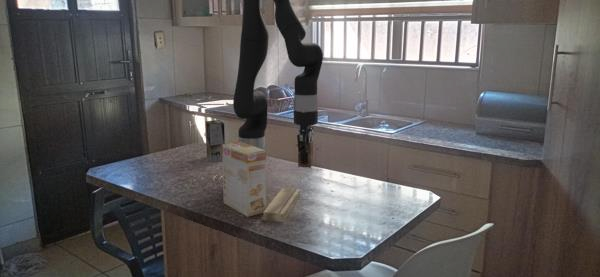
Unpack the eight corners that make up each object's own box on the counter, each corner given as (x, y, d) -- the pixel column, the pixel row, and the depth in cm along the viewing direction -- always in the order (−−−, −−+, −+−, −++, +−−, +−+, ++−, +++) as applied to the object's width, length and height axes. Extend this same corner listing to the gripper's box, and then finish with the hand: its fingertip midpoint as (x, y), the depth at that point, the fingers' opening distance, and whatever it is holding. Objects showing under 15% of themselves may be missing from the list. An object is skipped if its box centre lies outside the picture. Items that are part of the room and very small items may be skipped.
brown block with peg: (295, 166, 152) (295, 142, 150) (298, 163, 156) (298, 139, 154) (310, 167, 151) (310, 142, 149) (312, 164, 155) (313, 140, 153)
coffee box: (225, 161, 202) (224, 123, 199) (210, 162, 200) (209, 124, 196) (221, 155, 211) (219, 119, 207) (206, 157, 208) (205, 120, 205)
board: (263, 220, 140) (263, 211, 139) (282, 195, 161) (282, 187, 160) (283, 222, 139) (283, 213, 138) (299, 196, 160) (299, 189, 159)
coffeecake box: (267, 212, 146) (266, 150, 142) (247, 217, 142) (245, 153, 138) (242, 198, 158) (240, 140, 153) (222, 203, 153) (220, 143, 149)
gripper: (298, 104, 157) (298, 155, 161) (288, 111, 143) (288, 167, 147) (321, 105, 155) (320, 157, 159) (313, 112, 142) (312, 168, 145)
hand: (305, 161), depth 153 cm, fingers closed on brown block with peg, 4 cm apart
